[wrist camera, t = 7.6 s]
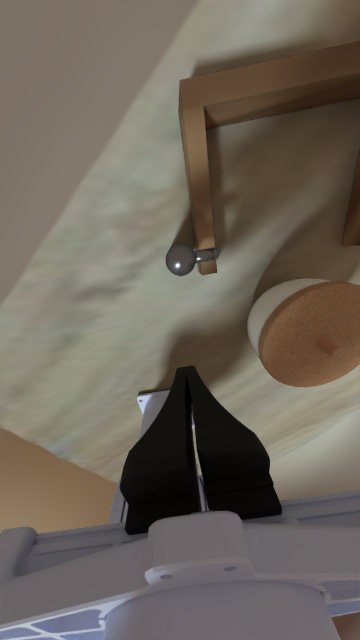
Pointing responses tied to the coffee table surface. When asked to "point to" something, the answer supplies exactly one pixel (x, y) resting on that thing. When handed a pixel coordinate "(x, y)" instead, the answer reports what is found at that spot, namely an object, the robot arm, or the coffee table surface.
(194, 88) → the walnut shelf
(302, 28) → the coffee table surface
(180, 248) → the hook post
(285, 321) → the lidded jar
